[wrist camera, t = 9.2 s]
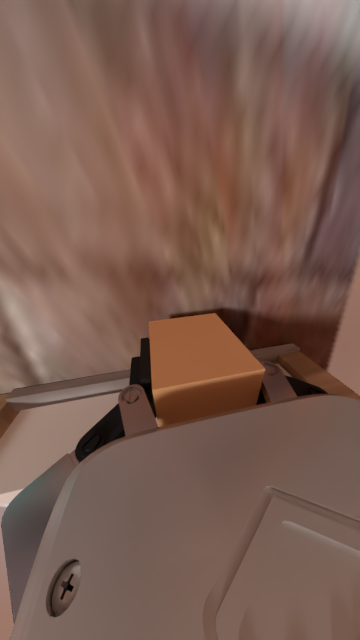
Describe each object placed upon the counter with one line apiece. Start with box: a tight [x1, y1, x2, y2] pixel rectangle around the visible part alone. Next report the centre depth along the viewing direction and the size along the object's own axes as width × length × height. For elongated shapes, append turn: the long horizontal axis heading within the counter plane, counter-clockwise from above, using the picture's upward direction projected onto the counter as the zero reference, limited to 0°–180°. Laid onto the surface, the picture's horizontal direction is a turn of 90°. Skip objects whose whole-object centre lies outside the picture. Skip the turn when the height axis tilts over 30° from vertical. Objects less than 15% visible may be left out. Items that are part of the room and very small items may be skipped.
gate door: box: [0, 364, 293, 505], centre depth 13 cm, size 2×24×6 cm, turn 93°
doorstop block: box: [149, 313, 265, 427], centre depth 11 cm, size 5×5×6 cm
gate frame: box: [0, 343, 360, 439], centre depth 13 cm, size 3×30×8 cm, turn 93°
